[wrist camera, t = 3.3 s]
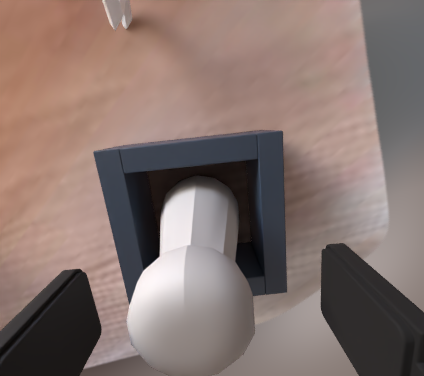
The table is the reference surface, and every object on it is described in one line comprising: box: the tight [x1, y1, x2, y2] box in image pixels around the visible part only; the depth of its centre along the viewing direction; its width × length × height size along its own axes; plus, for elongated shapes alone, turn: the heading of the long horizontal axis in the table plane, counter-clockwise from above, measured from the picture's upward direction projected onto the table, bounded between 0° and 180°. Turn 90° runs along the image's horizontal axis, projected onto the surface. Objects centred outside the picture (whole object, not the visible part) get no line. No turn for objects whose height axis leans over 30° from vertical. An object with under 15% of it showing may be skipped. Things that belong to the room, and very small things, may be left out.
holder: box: [93, 130, 287, 305], centre depth 17 cm, size 11×11×5 cm
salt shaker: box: [126, 175, 255, 376], centre depth 13 cm, size 6×6×13 cm
